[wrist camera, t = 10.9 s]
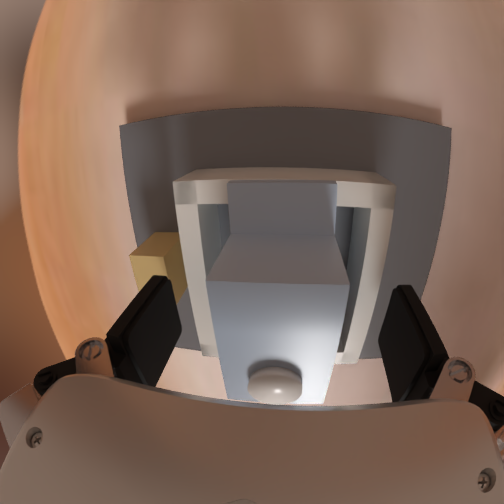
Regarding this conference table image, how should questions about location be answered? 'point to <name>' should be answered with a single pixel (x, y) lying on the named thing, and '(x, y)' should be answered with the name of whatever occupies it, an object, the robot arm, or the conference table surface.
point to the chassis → (295, 168)
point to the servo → (279, 291)
